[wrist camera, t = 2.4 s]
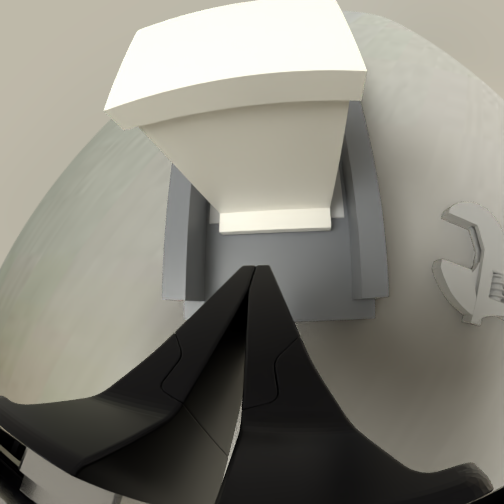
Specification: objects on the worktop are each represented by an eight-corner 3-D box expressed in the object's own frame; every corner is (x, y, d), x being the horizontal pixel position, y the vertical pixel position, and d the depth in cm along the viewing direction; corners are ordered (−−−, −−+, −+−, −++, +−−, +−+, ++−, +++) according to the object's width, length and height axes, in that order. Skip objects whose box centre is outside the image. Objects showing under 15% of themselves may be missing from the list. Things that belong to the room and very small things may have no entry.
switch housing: (368, 317, 14) (400, 322, 9) (193, 318, 16) (144, 322, 11) (335, 68, 18) (337, 14, 12) (209, 80, 20) (186, 32, 14)
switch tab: (334, 230, 14) (374, 95, 4) (218, 235, 15) (96, 134, 5) (325, 145, 15) (329, -12, 5) (222, 153, 16) (143, 20, 6)
